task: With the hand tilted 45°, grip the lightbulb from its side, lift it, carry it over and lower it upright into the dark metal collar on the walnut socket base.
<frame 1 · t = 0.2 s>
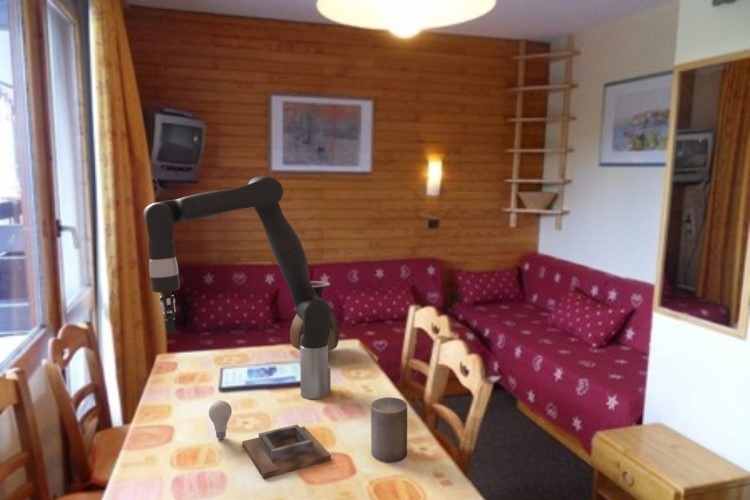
hand: (170, 329, 155), 29 cm above the table, tool pointing down, fingers open, 8 cm apart
lightbulb: (221, 439, 152), on the table
pillar candle: (388, 454, 145), on the table
bulb socket: (285, 453, 144), on the table
vase: (315, 356, 219), on the table
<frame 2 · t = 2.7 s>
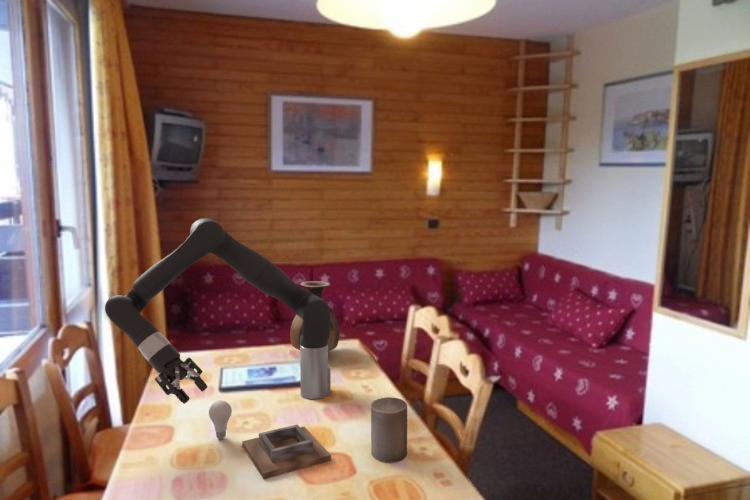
hand: (196, 395, 152), 12 cm above the table, tool tilted 45°, fingers open, 8 cm apart
nothing on the table moved.
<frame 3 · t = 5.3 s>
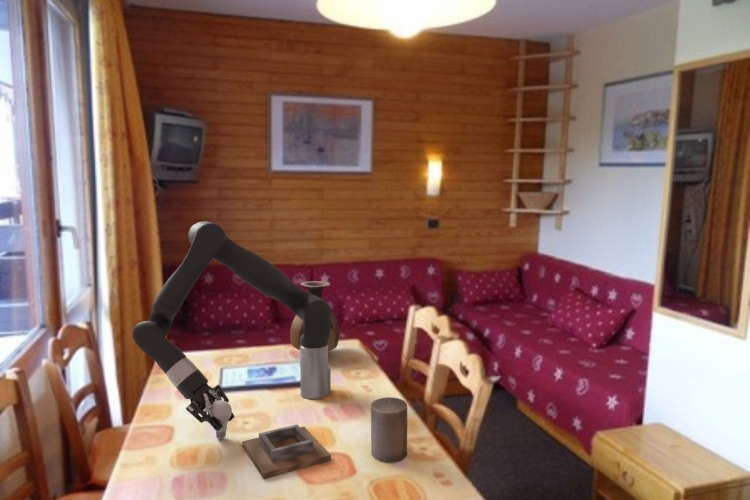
hand: (226, 423, 151), 5 cm above the table, tool tilted 45°, fingers closed on lightbulb, 5 cm apart
lightbulb: (221, 439, 152), on the table, touching gripper
everything else where it was.
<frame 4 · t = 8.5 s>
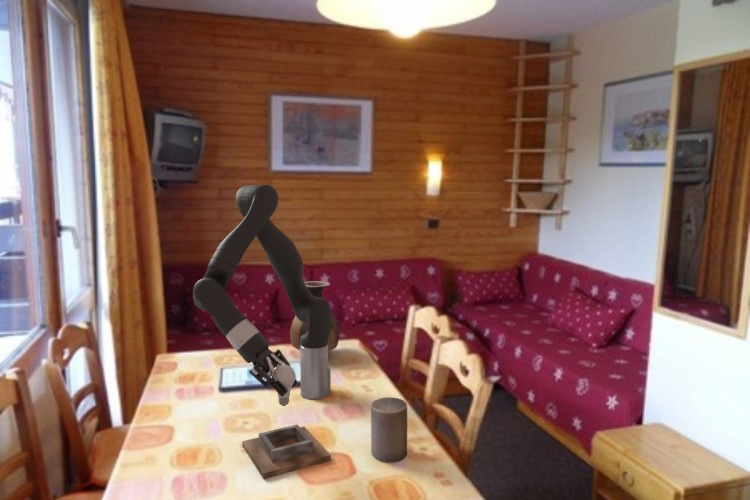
hand: (290, 389, 141), 18 cm above the table, tool tilted 45°, fingers closed on lightbulb, 5 cm apart
lightbulb: (284, 406, 142), point 13 cm above the table, touching gripper
everything else where it was.
when the fingers open (9 cm above the table, at t = 11.6 s): lightbulb drops 2 cm, resting on bulb socket.
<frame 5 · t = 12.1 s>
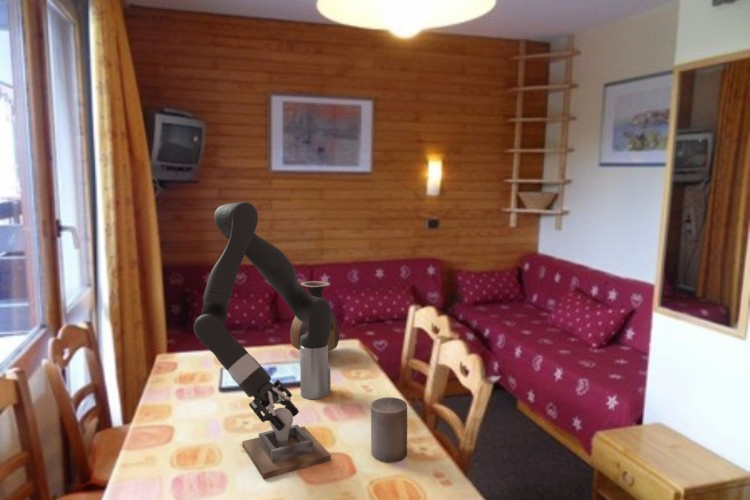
hand: (289, 421, 143), 9 cm above the table, tool tilted 45°, fingers open, 8 cm apart
lightbulb: (283, 448, 144), point 1 cm above the table, touching bulb socket
everything else where it was.
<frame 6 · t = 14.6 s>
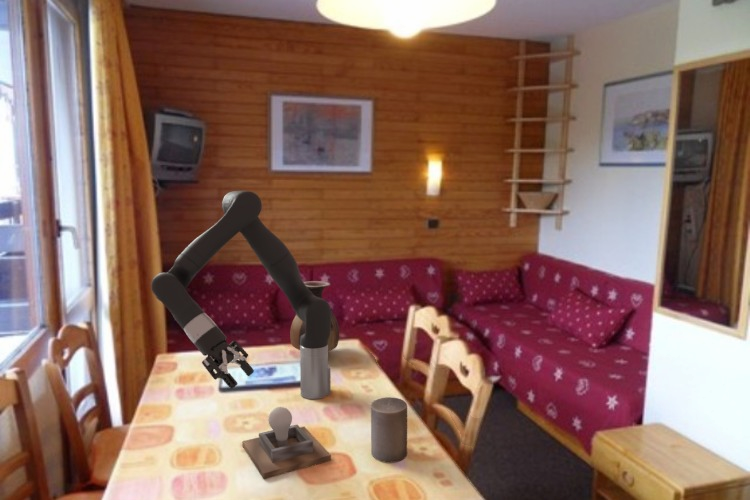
hand: (243, 380, 146), 19 cm above the table, tool tilted 45°, fingers open, 8 cm apart
nothing on the table moved.
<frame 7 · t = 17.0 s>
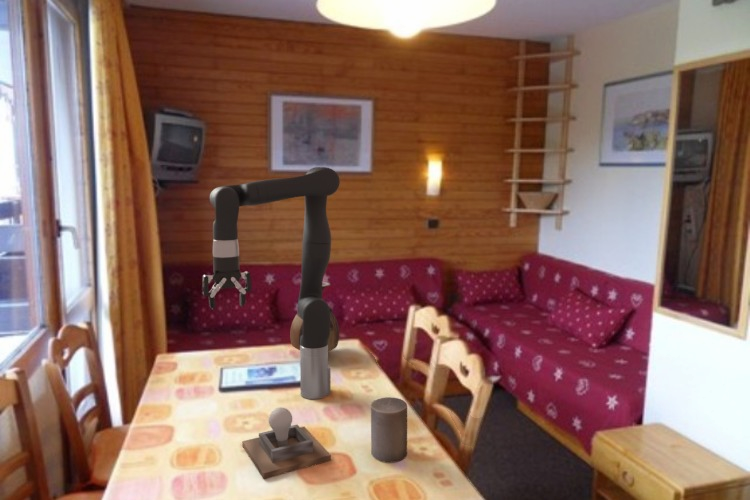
hand: (227, 307, 164), 33 cm above the table, tool pointing down, fingers open, 8 cm apart
nothing on the table moved.
at the end: lightbulb 0.6 cm off-centre on the bulb socket, point 1.3 cm above the bulb socket's base; lightbulb tilted 2°; the gripper is holding nothing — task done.
